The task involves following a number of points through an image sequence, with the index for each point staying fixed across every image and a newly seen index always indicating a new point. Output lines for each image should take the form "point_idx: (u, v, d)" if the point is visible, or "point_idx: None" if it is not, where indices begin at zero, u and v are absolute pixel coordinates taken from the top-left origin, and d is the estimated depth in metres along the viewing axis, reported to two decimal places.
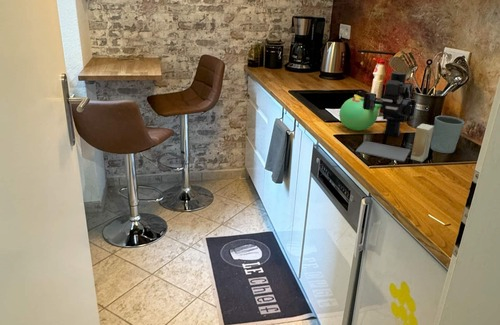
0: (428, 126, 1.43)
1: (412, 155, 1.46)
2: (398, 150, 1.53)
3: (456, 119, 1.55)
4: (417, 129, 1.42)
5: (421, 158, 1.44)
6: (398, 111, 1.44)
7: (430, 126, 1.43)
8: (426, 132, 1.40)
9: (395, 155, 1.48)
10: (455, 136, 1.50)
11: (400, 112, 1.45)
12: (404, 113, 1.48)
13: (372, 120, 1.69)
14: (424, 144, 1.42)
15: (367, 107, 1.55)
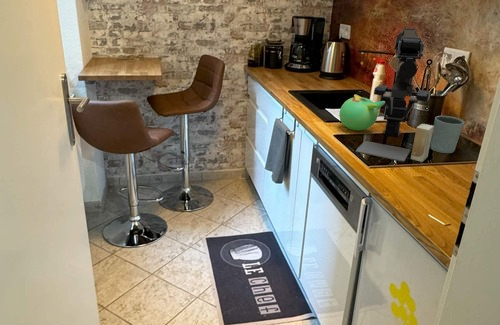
0: (428, 126, 1.43)
1: (412, 155, 1.46)
2: (398, 150, 1.53)
3: (456, 119, 1.55)
4: (417, 129, 1.42)
5: (421, 158, 1.44)
6: (406, 115, 1.50)
7: (430, 126, 1.43)
8: (426, 132, 1.40)
9: (395, 155, 1.48)
10: (455, 136, 1.50)
11: (409, 110, 1.49)
12: (414, 102, 1.48)
13: (372, 120, 1.69)
14: (424, 144, 1.42)
15: None
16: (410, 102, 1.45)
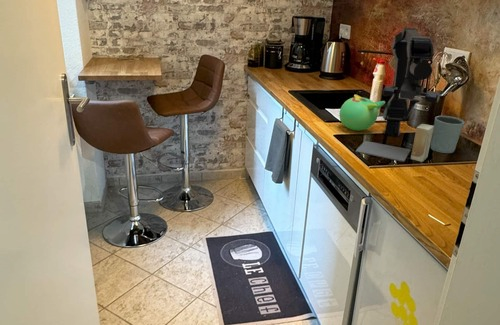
0: (428, 126, 1.43)
1: (412, 155, 1.46)
2: (398, 150, 1.53)
3: (456, 119, 1.55)
4: (417, 129, 1.42)
5: (421, 158, 1.44)
6: (408, 115, 1.49)
7: (430, 126, 1.43)
8: (426, 132, 1.40)
9: (395, 155, 1.48)
10: (455, 136, 1.50)
11: None
12: (415, 102, 1.48)
13: (372, 120, 1.69)
14: (424, 144, 1.42)
15: None
16: (412, 102, 1.45)
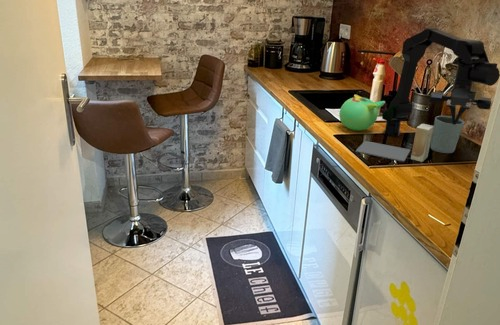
0: (428, 126, 1.43)
1: (412, 155, 1.46)
2: (398, 150, 1.53)
3: None
4: (417, 129, 1.42)
5: (421, 158, 1.44)
6: (456, 122, 1.42)
7: (430, 126, 1.43)
8: (426, 132, 1.40)
9: (395, 155, 1.48)
10: (455, 136, 1.50)
11: None
12: None
13: (372, 120, 1.69)
14: (424, 144, 1.42)
15: None
16: (461, 109, 1.37)
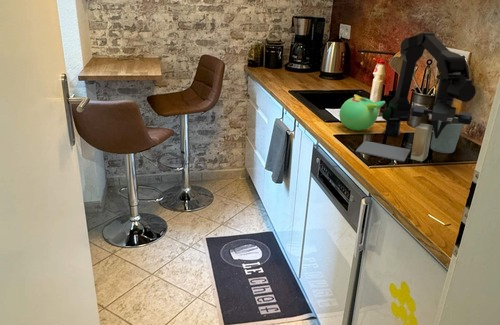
0: (427, 125, 1.43)
1: (412, 155, 1.46)
2: (398, 150, 1.53)
3: (456, 119, 1.55)
4: (416, 129, 1.42)
5: (421, 158, 1.44)
6: (438, 136, 1.42)
7: (429, 125, 1.43)
8: (425, 131, 1.40)
9: (395, 155, 1.48)
10: (455, 136, 1.50)
11: None
12: None
13: (372, 120, 1.69)
14: (423, 144, 1.42)
15: None
16: (443, 123, 1.38)
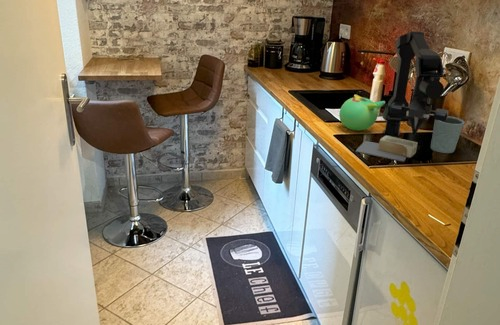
0: None
1: (406, 155, 1.47)
2: None
3: (456, 119, 1.55)
4: (380, 149, 1.53)
5: (408, 147, 1.46)
6: None
7: None
8: (382, 141, 1.51)
9: (395, 155, 1.48)
10: (455, 136, 1.50)
11: None
12: None
13: (372, 120, 1.69)
14: (393, 143, 1.49)
15: None
16: (420, 120, 1.41)
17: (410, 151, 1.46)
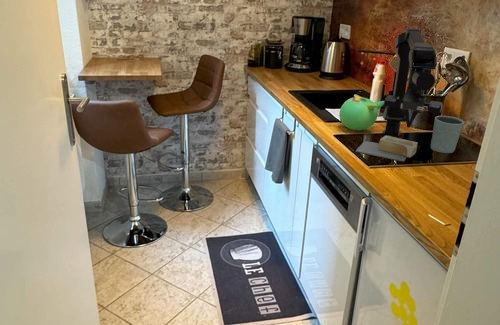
0: None
1: (406, 155, 1.47)
2: None
3: (456, 119, 1.55)
4: (380, 148, 1.53)
5: (408, 147, 1.46)
6: (410, 125, 1.45)
7: None
8: (382, 141, 1.51)
9: (395, 155, 1.48)
10: (455, 136, 1.50)
11: None
12: None
13: (372, 120, 1.69)
14: (394, 143, 1.49)
15: None
16: (414, 112, 1.41)
17: (410, 151, 1.46)
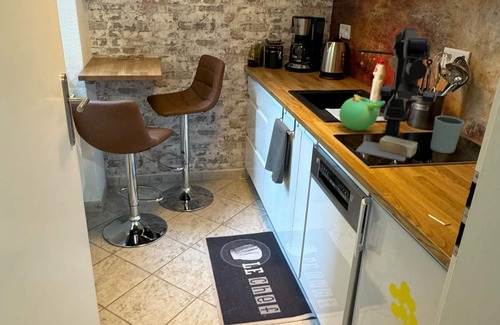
0: None
1: (406, 155, 1.47)
2: None
3: (456, 119, 1.55)
4: (380, 148, 1.53)
5: (408, 147, 1.46)
6: (405, 115, 1.50)
7: None
8: (382, 141, 1.51)
9: (395, 155, 1.48)
10: (455, 136, 1.50)
11: None
12: None
13: (372, 120, 1.69)
14: (394, 143, 1.49)
15: None
16: (409, 102, 1.45)
17: (410, 151, 1.46)
